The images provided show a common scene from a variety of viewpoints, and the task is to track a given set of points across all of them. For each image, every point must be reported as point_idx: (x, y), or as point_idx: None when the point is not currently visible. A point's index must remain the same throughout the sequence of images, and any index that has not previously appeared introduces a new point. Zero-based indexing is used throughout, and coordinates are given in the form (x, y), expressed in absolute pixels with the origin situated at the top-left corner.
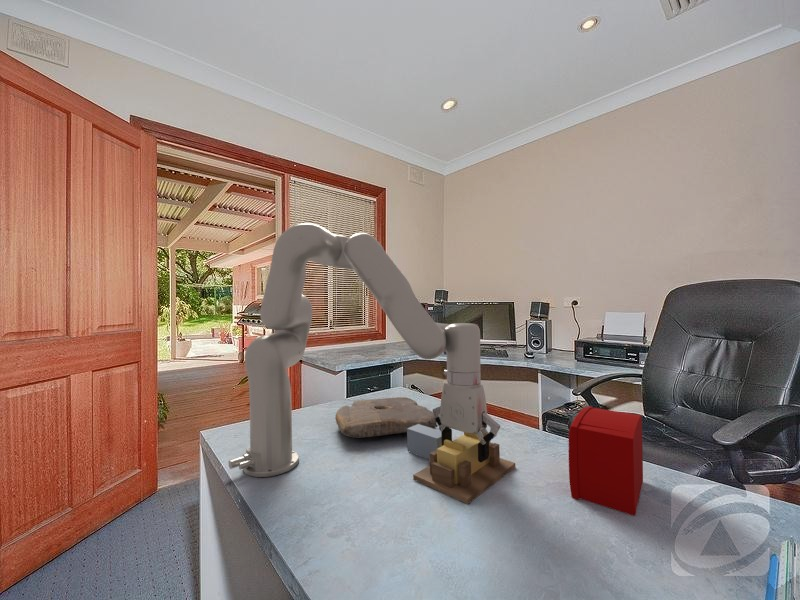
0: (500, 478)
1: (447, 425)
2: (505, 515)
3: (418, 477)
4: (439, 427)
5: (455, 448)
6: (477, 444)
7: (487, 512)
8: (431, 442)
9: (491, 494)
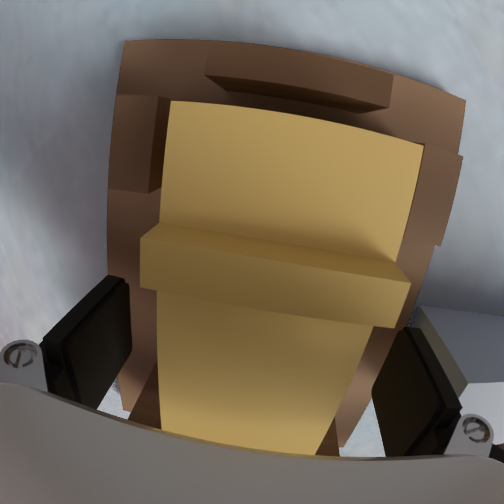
0: None
1: (429, 468)
2: (21, 90)
3: (434, 87)
4: (489, 432)
5: (249, 239)
6: (163, 404)
7: (63, 59)
8: (484, 360)
9: (90, 176)
